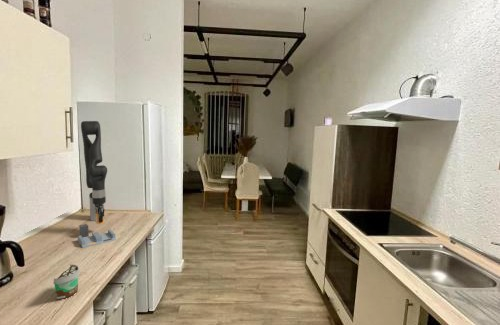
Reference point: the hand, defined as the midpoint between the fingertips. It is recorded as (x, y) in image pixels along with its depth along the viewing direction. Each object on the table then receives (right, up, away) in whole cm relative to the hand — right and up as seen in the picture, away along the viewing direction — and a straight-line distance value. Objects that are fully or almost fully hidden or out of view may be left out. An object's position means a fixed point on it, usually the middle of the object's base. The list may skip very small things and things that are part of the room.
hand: (99, 221), depth 177 cm
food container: (+23, -17, -63) cm, 69 cm away
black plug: (-7, -8, -6) cm, 12 cm away
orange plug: (0, -1, 0) cm, 1 cm away
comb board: (+5, -9, -11) cm, 15 cm away
